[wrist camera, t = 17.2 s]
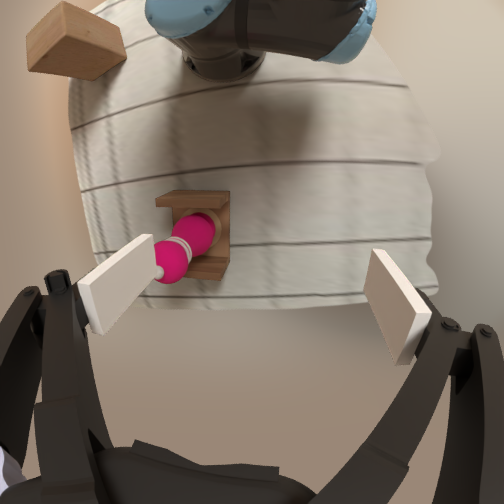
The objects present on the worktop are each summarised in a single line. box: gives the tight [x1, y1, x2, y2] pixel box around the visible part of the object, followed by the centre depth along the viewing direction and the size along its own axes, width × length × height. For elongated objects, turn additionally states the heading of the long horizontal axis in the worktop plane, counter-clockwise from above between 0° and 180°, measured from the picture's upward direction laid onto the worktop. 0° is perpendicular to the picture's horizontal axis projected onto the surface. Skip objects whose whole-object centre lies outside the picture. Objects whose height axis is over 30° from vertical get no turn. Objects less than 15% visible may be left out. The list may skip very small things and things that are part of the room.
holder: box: [156, 190, 230, 281], centre depth 49 cm, size 14×11×8 cm
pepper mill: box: [154, 212, 216, 284], centre depth 42 cm, size 7×7×20 cm
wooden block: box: [26, 1, 127, 81], centre depth 31 cm, size 10×10×20 cm
